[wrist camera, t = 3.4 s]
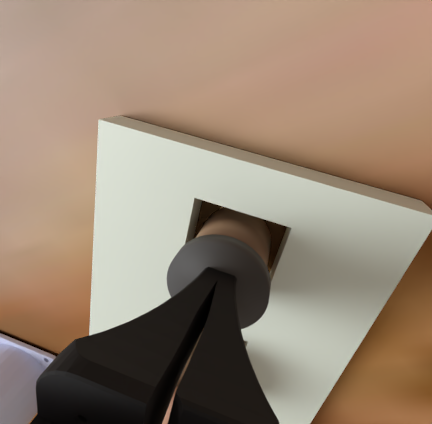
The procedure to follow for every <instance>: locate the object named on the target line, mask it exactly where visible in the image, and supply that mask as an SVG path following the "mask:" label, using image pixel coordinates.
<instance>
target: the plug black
mask: <svg viewBox="0 0 432 424" xmlns="http://www.w3.org/2000/svg"><path fill="white" fill-rule="evenodd" d="M270 246H271V235H270V231H269V229H268V227H267V225H266V223H265V222H264V221H263V220H262V219H261V218H258V217H255V216H252V215H248V214H245V213H242V212H239V211H236V210H232V209H229V208H222V209H220V210H218V211H216V212H214V213H213V214H212V215H211V216H210V217H209V218H208V220H207V221H206V223H205V224H204V226H203V227H202V229H201V230H200V232H199V233H198V235H197V236H196V238H194V239H192V240H190V241H189V242H187V243H186V244H185V245H184V246H183V247H182V248H181V249H180V250H179V252H178V253H177V254H176V256H175V257H174V259H173V260H172V262H171V263H170V266H169V268H168V272H167V287H168V291H169V294H170V296H171V297H173V296H174V295H175V294H177V293H178V292H180V291H181V290H182V289H183V288H185V287H186V286H187V285H188V284H189V283H191V282H192V281H193V280H194V279H195V278H196V277H197V276H198V275H199V274H200V273H201V272H202V271H203V270H204V269H205V268H207V267H210V268H213V269H216V270H219V271H222V272H225V273H228V274H231V275H234V276H235V277H236V278H237V280H236V303H237V310H238V317H239V323H240V327H241V329H244V328H247V327H249V326H251V325H253V324H254V323H255V322H257V321H258V320H259V319H260V318H261V317H262V316H263V314H264V313H265V311H266V309H267V306H268V303H269V296H270V288H271V279H270V274H269V271H268V268H267V265H268V258H269V252H270Z"/></svg>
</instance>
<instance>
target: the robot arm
mask: <svg viewBox="0 0 432 424" xmlns="http://www.w3.org/2000/svg"><path fill="white" fill-rule="evenodd" d="M236 280H237V278H236V277H235V276H234V275H231V274H228V273H225V272H222V271H219V270H216V269H213V268H210V267H207V268H205V269H204V270H203V271H202V272H201V273H200V274H199V275H198V276H197V277H196V278H195V279H194V280H193V281H192V282H191V283H189V284H188V285H187V286H186V287H185V288H183V289H182V290H181V291H180V292H178V293H177V294H175V295H174V296H173V297H171V298H170V299H168V300H167V301H165V302H164V303H162V304H161V305H159V306H158V307H156V308H154V309H152V310H151V311H149V312H147V313H145V314H143V315H141V316H139V317H137V318H135V319H133V320H131V321H129V322H126V323H124V324H121V325H119V326H116V327H114V328H111V329H108V330H106V331H103V332H100V333H96V334H93V335H90V336H86V337H83V338H79V339H75V340H74V341H73V342H72V343H71V344H70V345H69V346H67V347H66V348H65V349H64V350H63V351H62V352H61V353H60V354H59V355H58V356H57V357H56V356H55V355H52V354H50V353H47V352H45V351H43V350H40V349H38V348H35V347H33V346H30V345H28V344H25V343H23V342H21V341H18V340H16V339H13V338H11V337H8V336H6V335H4V334H1V333H0V424H29V422H30V421H31V420H32V419H33V417H34V416H35V415H36V413H37V412H38V414H37V416H36V417H35V418H34V419H33V421H32V422H31V423H30V424H162V423H163V420H164V417H165V415H166V412H167V409H168V407H169V404H170V401H171V399H172V396H173V394H174V391H175V388H176V386H177V383H178V380H179V378H180V376H181V374H182V371H183V369H184V367H185V365H186V363H187V361H188V359H189V357H190V355H191V353H192V351H193V349H194V347H195V345H196V343H197V341H198V339H199V341H198V343H197V346H196V348H195V350H194V353H193V355H192V357H191V359H190V362H189V364H188V366H187V369H186V371H185V373H184V375H183V377H182V380H181V382H180V384H179V386H178V388H177V390H176V393H175V397H174V401H173V405H172V408H171V412H170V416H169V420H168V424H279V420H278V419H277V417H276V415H275V413H274V412H273V410H272V408H271V406H270V404H269V402H268V400H267V398H266V396H265V394H264V392H263V390H262V388H261V386H260V384H259V381H258V379H257V377H256V374H255V372H254V369H253V367H252V364H251V362H250V359H249V356H248V353H247V350H246V347H245V343H244V340H243V336H242V332H241V327H240V323H239V317H238V310H237V303H236ZM203 328H204V329H203ZM202 330H203V331H202ZM201 332H202V334H201ZM200 334H201V336H200ZM199 337H200V338H199Z"/></svg>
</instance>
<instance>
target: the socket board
mask: <svg viewBox="0 0 432 424" xmlns="http://www.w3.org/2000/svg"><path fill="white" fill-rule="evenodd" d="M202 200H203V201H207V202H210V203H213V204H216V205H219V206H223V207H226V208H229V209H232V210H236V211H239V212H242V213H245V214H248V215H252V216H255V217H258V218H261V219H264V220H268V221H271V222H274V223H277V224H280V225H284V226H287V228H286V231H285V233H284V236H283V239H282V241H281V244H280V247H279V249H278V252H277V255H276V257H275V260H274V263H273V265H272V268H271V271H270V273H269V274H270V279H271V288H270V296H269V303H268V306H267V309H266V311H265V313H264V314H263V316H262V317H261V318H260V319H259V320H258V321H257V322H255V323H254V324H253V325H251V326H249V327H247V328H244V329H241V332H242V336H243V340H244V343H245V347H246V350H247V353H248V356H249V359H250V362H251V364H252V367H253V369H254V372H255V374H256V377H257V379H258V381H259V384H260V386H261V388H262V390H263V392H264V394H265V396H266V398H267V400H268V402H269V404H270V406H271V408H272V410H273V412H274V413H275V415H276V417H277V419H278V420H279V424H310V423H311V422H312V420H313V418H314V417H315V415H316V414H317V412H318V410H319V409H320V407H321V406H322V404H323V402H324V401H325V399H326V398H327V396H328V394H329V393H330V391H331V390H332V388H333V387H334V385H335V383H336V382H337V380H338V379H339V377H340V375H341V374H342V372H343V371H344V369H345V367H346V366H347V364H348V363H349V361H350V359H351V358H352V356H353V355H354V353H355V351H356V350H357V348H358V347H359V345H360V343H361V342H362V340H363V339H364V337H365V335H366V334H367V332H368V331H369V329H370V327H371V326H372V324H373V323H374V321H375V319H376V318H377V316H378V315H379V313H380V312H381V310H382V308H383V307H384V305H385V304H386V302H387V300H388V299H389V297H390V296H391V294H392V292H393V291H394V289H395V288H396V286H397V284H398V283H399V281H400V280H401V278H402V276H403V275H404V273H405V272H406V270H407V268H408V267H409V265H410V264H411V262H412V260H413V259H414V257H415V256H416V254H417V252H418V251H419V249H420V248H421V246H422V244H423V243H424V241H425V240H426V238H427V237H428V235H429V233H430V232H431V230H432V210H431V209H430V208H429V207H428V206H427V205H426V204H425V203H424V202H423V201H421V200H418V199H414V198H410V197H407V196H403V195H400V194H396V193H393V192H389V191H386V190H382V189H379V188H375V187H372V186H368V185H365V184H361V183H357V182H354V181H350V180H347V179H343V178H340V177H336V176H333V175H329V174H326V173H322V172H319V171H315V170H312V169H308V168H304V167H301V166H297V165H294V164H290V163H287V162H283V161H280V160H276V159H273V158H269V157H266V156H262V155H258V154H255V153H251V152H248V151H244V150H241V149H237V148H234V147H230V146H227V145H223V144H220V143H216V142H213V141H209V140H205V139H202V138H198V137H195V136H191V135H188V134H184V133H181V132H177V131H174V130H170V129H167V128H163V127H160V126H156V125H152V124H149V123H145V122H142V121H138V120H135V119H131V118H128V117H124V116H121V115H120V116H114V117H109V118H103V119H99V124H98V147H97V170H96V193H95V216H94V239H93V262H92V285H91V308H90V331H89V336H90V335H93V334H96V333H100V332H103V331H106V330H108V329H111V328H114V327H116V326H119V325H121V324H124V323H126V322H129V321H131V320H133V319H135V318H137V317H139V316H141V315H143V314H145V313H147V312H149V311H151V310H152V309H154V308H156V307H158V306H159V305H161V304H162V303H164V302H165V301H167V300H168V299H170V298H171V296H170V294H169V291H168V287H167V272H168V268H169V266H170V263H171V262H172V260H173V259H174V257H175V256H176V254H177V253H178V252H179V250H180V249H181V248H182V247H183V246H184V245H185V244H186V243H187V242H189V241H190V240H192V239H194V235H195V231H196V226H197V222H198V217H199V213H200V208H201V204H202Z"/></svg>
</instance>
